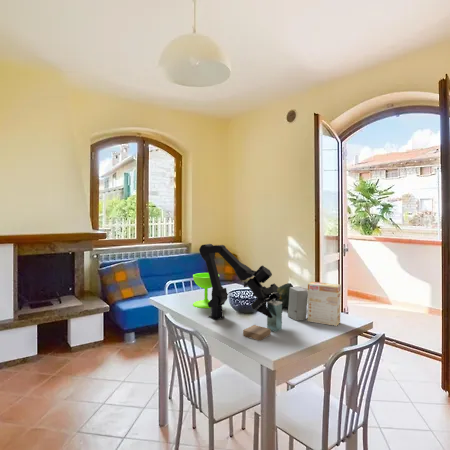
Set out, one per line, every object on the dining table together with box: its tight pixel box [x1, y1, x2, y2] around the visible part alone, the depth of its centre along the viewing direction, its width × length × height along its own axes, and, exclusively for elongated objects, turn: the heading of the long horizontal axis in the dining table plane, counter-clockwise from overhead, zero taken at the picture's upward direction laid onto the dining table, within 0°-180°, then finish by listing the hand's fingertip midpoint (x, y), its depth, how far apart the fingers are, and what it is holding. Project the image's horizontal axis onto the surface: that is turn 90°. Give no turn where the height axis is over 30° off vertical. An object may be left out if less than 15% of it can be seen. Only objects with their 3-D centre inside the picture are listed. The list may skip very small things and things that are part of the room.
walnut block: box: [242, 324, 272, 341], centre depth 149 cm, size 9×9×3 cm
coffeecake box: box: [307, 281, 342, 327], centre depth 168 cm, size 15×7×20 cm, turn 58°
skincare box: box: [287, 286, 308, 322], centre depth 174 cm, size 8×7×16 cm
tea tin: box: [266, 300, 283, 333], centre depth 157 cm, size 5×5×13 cm
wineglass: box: [192, 272, 220, 309], centre depth 199 cm, size 16×16×18 cm
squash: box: [274, 282, 294, 309], centre depth 195 cm, size 14×15×15 cm
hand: (276, 315), depth 156 cm, fingers open, 9 cm apart
